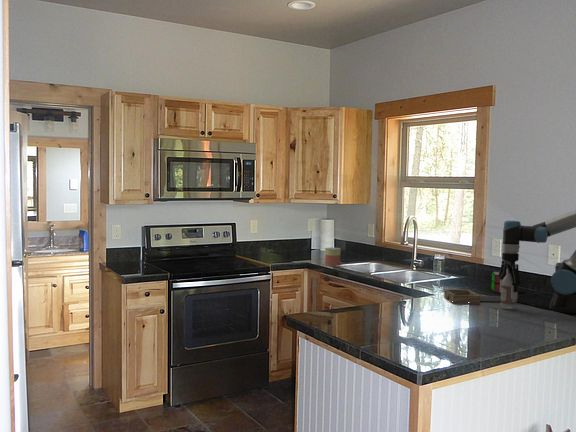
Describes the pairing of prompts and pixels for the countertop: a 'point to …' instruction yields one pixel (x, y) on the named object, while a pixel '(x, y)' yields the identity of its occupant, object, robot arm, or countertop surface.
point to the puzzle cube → (495, 282)
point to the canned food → (332, 256)
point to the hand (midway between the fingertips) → (508, 295)
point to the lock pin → (491, 298)
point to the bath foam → (507, 293)
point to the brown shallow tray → (462, 296)
